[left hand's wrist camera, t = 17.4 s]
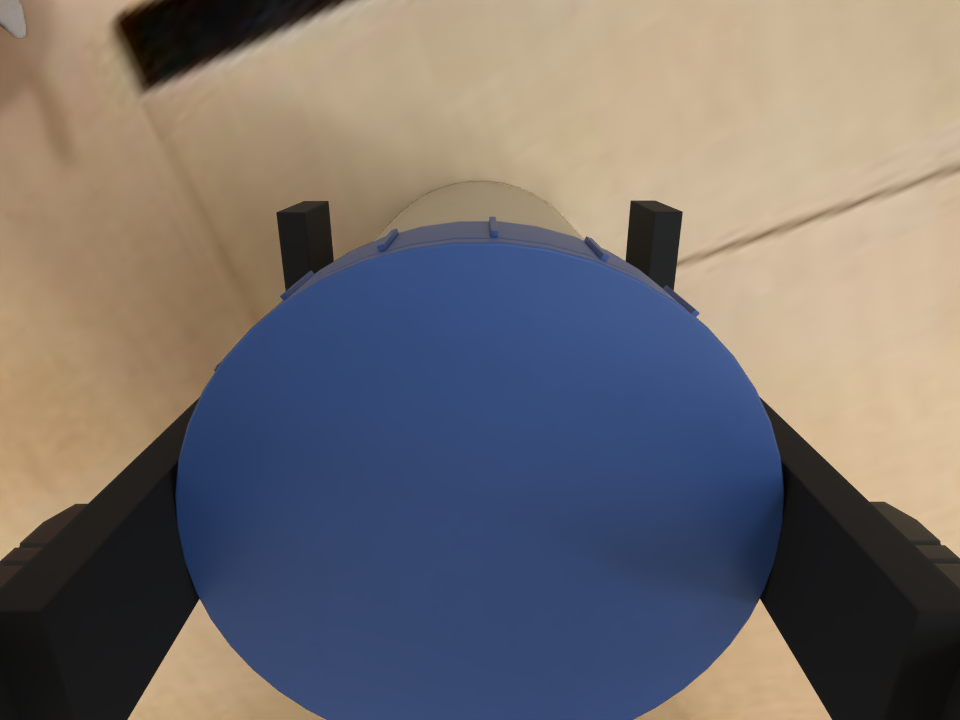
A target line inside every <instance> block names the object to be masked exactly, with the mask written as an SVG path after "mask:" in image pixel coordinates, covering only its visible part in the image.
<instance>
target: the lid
mask: <svg viewBox="0 0 960 720" xmlns="http://www.w3.org/2000/svg"><path fill="white" fill-rule="evenodd" d="M280 297H281V298H282V299H283V301H282V302H281V303H280V304H279V305H277V306H276V307H275V308H274V309H273V310H272V311H270V312H269V313H268V314H267V315H266V316H265V317H264V318H262V319H261V320H260V321H259V322H258V323H257V324H256V325H254V326H253V327H252V328H251V329H250V330H249V331H248V332H247V334H246V335H245V336H244V337H243V338H242V339H241V340H240V341H239V342H238V344H237V345H236V346H235V347H234V348H233V349H232V350H231V351H230V352H229V353H228V355H227V356H226V357H225V358H224V359H223V361H222V362H220V363H219V364H218V365H217V366H216V368H215V371H216V372H215V373H214V375H213V376H212V378H211V379H210V381H209V382H208V384H207V385H206V387H205V388H204V390H203V392H202V394H201V396H200V399H199V401H198V403H197V405H196V408H195V410H194V412H193V414H192V417H191V419H190V421H189V423H188V426H187V430H186V434H185V438H184V441H183V445H182V449H181V452H180V456H179V462H178V472H177V482H176V492H175V498H176V516H177V526H178V531H179V536H180V540H181V545H182V550H183V554H184V559H185V563H186V567H187V569H188V572H189V575H190V577H191V580H192V583H193V585H194V588H195V591H196V592H197V594H198V596H199V598H200V600H201V602H202V603H203V605H204V607H205V609H206V611H207V613H208V614H209V616H210V618H211V620H212V621H213V623H214V624H215V625H216V627H217V628H218V629H219V631H220V632H221V634H222V635H223V636H224V638H225V639H226V640H227V642H228V643H229V644H230V646H231V647H232V648H233V649H234V650H235V651H236V652H237V653H238V654H239V655H240V656H241V657H242V659H243V660H244V661H245V662H246V663H247V664H248V665H249V666H250V667H251V668H252V669H253V670H254V671H255V672H256V673H258V674H259V675H260V676H261V677H262V678H264V679H265V680H266V681H267V682H268V683H270V684H271V685H272V686H273V687H274V688H276V689H277V690H278V691H279V692H281V693H283V694H284V695H286V696H287V697H289V698H290V699H292V700H293V701H295V702H296V703H298V704H299V705H301V706H302V707H304V708H305V709H307V710H309V711H311V712H313V713H315V714H317V715H319V716H321V717H322V718H324V719H326V720H633V719H635V718H637V717H639V716H641V715H643V714H645V713H647V712H648V711H650V710H652V709H654V708H656V707H657V706H659V705H660V704H662V703H663V702H665V701H666V700H668V699H669V698H671V697H672V696H674V695H675V694H677V693H678V692H680V691H681V690H683V689H684V688H685V687H686V686H687V685H689V684H690V683H691V682H692V681H693V680H695V679H696V678H697V677H698V676H699V675H701V674H702V673H703V672H704V671H705V670H706V669H708V668H709V667H710V665H711V664H712V663H713V662H714V661H715V660H716V659H717V658H718V657H719V656H720V655H721V654H722V653H723V652H724V650H725V649H726V648H727V647H728V646H729V645H730V644H731V642H732V641H733V640H734V638H735V637H736V636H737V634H738V633H739V631H740V630H741V629H742V627H743V626H744V625H745V623H746V622H747V620H748V619H749V617H750V616H751V614H752V612H753V610H754V608H755V606H756V604H757V603H758V601H759V599H760V597H761V595H762V593H763V591H764V589H765V587H766V584H767V581H768V579H769V576H770V573H771V570H772V568H773V565H774V561H775V557H776V552H777V547H778V542H779V538H780V533H781V528H782V523H783V508H784V485H783V476H782V467H781V458H780V454H779V450H778V446H777V443H776V439H775V435H774V432H773V428H772V425H771V422H770V419H769V417H768V415H767V413H766V411H765V408H764V406H763V404H762V402H761V400H760V397H759V395H758V393H757V391H756V389H755V387H754V386H753V384H752V383H751V381H750V380H749V378H748V377H747V375H746V374H745V372H744V371H743V369H742V368H741V366H740V365H739V363H738V362H737V360H736V359H735V357H734V356H733V355H732V354H731V353H730V352H729V350H728V349H727V348H726V347H725V346H724V345H723V344H722V343H721V342H720V341H719V340H718V338H717V337H716V336H715V335H714V334H713V333H712V332H711V331H710V330H709V329H708V327H707V326H705V325H704V324H703V323H702V322H701V321H700V320H698V319H697V318H696V316H697V315H698V314H699V312H698V311H697V310H696V309H694V308H693V307H692V306H691V305H690V304H688V303H687V302H686V301H685V300H684V299H682V298H681V297H680V296H679V295H678V294H676V293H675V292H674V291H673V290H672V289H670V288H669V287H668V286H667V285H666V286H665V287H664V288H661V287H660V286H659V285H658V284H656V283H655V282H654V281H653V280H651V279H650V278H649V277H648V276H646V275H645V274H644V273H643V272H642V271H640V270H639V269H637V268H636V267H634V266H632V265H631V264H629V263H627V262H626V261H624V260H622V259H621V258H619V257H617V256H616V255H614V254H612V253H611V252H609V251H607V250H605V249H602V248H601V247H600V246H599V245H598V244H597V243H596V242H595V241H594V240H593V239H592V238H589V237H586V238H585V240H581V239H579V238H577V237H574V236H571V235H567V234H564V233H560V232H556V231H552V230H549V229H545V228H541V227H538V226H531V225H524V224H516V223H508V222H501V221H496V217H489V221H458V222H451V223H444V224H436V225H429V226H422V227H418V228H414V229H411V230H407V231H404V232H400V233H398V230H397V228H396V229H393V230H391V231H390V232H389V233H388V234H387V236H385V237H383V238H381V239H378V240H376V241H374V242H371V243H369V244H367V245H364V246H362V247H360V248H357V249H355V250H353V251H350V252H349V253H347V254H345V255H344V256H342V257H340V258H339V259H337V260H336V261H334V262H332V263H331V264H329V265H327V266H326V267H324V268H322V269H321V270H319V271H318V272H317V273H315V274H314V273H313V272H312V271H310V272H309V273H307V274H306V275H305V276H304V277H302V278H301V279H300V280H299V281H298V282H296V283H295V284H294V285H293V286H292V287H290V288H289V289H288V290H287V291H286V292H284V293H283V294H282V295H281V296H280Z"/></svg>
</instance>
